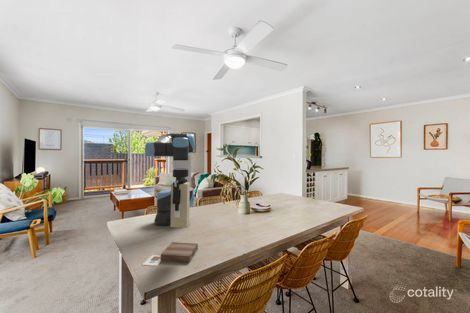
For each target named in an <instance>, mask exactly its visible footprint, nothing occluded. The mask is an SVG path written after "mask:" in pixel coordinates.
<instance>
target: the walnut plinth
mask: <svg viewBox="0 0 470 313" xmlns="http://www.w3.org/2000/svg"><path fill="white" fill-rule="evenodd" d="M198 245H199V244H198V243H194V242H193V243H192V242H191V243H190V242H177V241H176V242H175V241H172V242H170V244H169V245H168V246H167V247H166V248H165V249H164V250H163V251H162V252H161V254H160V255H159V256H160V260H161V262H173V263H188V264H189V263H191V261H192V260H193V257H194V256H195V254H196V253H197V251H198V250H199V248H198V247H199V246H198Z"/></svg>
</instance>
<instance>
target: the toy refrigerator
mask: <svg viewBox="0 0 470 313" xmlns="http://www.w3.org/2000/svg"><path fill="white" fill-rule="evenodd" d="M170 186H171V187H170V190H171V225H170V228H187V227H188V226H189V224H190V207H189V199H190V183H184V184H180V185H179V190H180V189H181V197H180V204H181V208H180V218H178V217H174V204H172V201H173V183H171V185H170Z"/></svg>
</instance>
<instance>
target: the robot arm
mask: <svg viewBox="0 0 470 313" xmlns="http://www.w3.org/2000/svg"><path fill="white" fill-rule="evenodd" d="M195 144H196V143H195V136H194V135H193V134H191V133H167V134H163V135H161V136H159V138H157V140H156V141H155V142H154V141H149V142H145V144H144V146H145V147H144V153H145V155H146V157H151V158H153V157H158V158H159V157H170V158H171V157H172V162H171V164H172V177H173V178H175V181H174V182H173V201H172V204H174V217H178V218H180V208H181V204H180V197H181V189H180V190H179V185H180V184H184V183H190V199H189V208H192V207H193V206H194V203H195V197H196V191H195V190H194V188H193V187H192V154H193V153H194V151H195V150H196V145H195ZM156 197H157V198H156V214H155V217H154V225H156V226H160V227H161V226H162V227H166V226H171V189H165V190H160V191H158V193H157V196H156Z"/></svg>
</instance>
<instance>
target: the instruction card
mask: <svg viewBox="0 0 470 313" xmlns="http://www.w3.org/2000/svg"><path fill="white" fill-rule="evenodd" d="M161 262H162V261H161V260H160V255H159V254H158V255H156V254H155V255H154V254H151V256H149V257H148V258H147V259H146V260H145V261H144V262H143V263H142V264H141V265H142V266H149V267H150V266H151V267H152V266H153V267H158V265H159V264H160V263H161Z"/></svg>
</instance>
